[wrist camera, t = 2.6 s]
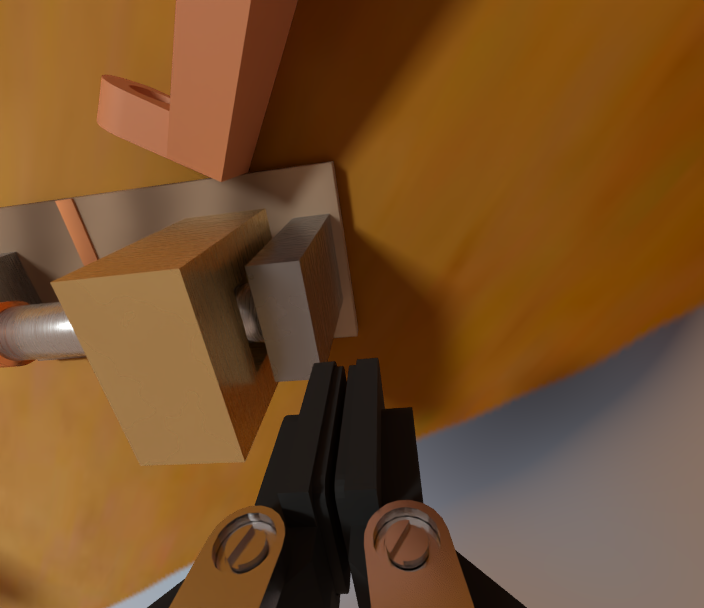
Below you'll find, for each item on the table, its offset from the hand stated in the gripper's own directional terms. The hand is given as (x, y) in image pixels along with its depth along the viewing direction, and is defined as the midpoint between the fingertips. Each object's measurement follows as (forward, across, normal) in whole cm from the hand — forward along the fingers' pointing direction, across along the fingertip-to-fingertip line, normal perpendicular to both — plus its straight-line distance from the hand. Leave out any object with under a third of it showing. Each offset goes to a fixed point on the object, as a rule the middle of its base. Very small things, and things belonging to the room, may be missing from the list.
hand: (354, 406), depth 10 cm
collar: (+10, +6, 0) cm, 12 cm away
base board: (+13, +12, 0) cm, 18 cm away
